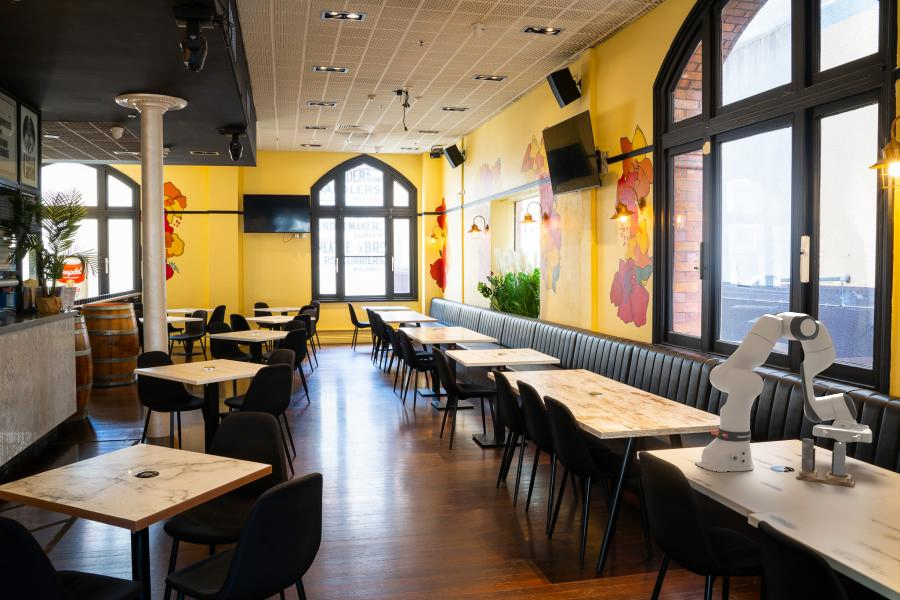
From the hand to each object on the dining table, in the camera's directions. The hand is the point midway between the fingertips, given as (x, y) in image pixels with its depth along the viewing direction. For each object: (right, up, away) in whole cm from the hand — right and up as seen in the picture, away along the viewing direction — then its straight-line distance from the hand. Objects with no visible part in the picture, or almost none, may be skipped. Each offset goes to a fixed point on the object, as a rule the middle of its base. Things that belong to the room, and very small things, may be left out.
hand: (840, 437), depth 269 cm
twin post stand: (-10, -14, -9) cm, 20 cm away
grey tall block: (-7, -13, -11) cm, 18 cm away
